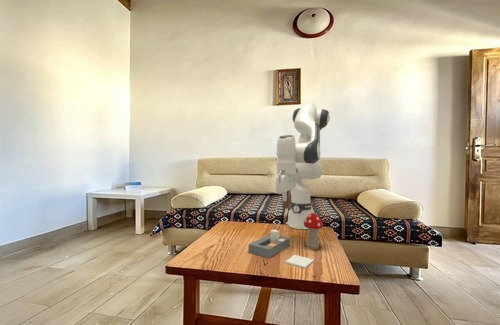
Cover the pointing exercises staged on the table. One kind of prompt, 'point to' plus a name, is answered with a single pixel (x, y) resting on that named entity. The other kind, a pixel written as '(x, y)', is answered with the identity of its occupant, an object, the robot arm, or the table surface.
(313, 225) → the decorative mushroom
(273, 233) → the switch tab
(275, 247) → the switch panel
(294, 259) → the pad
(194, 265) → the table surface
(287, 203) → the brown wooden beam
